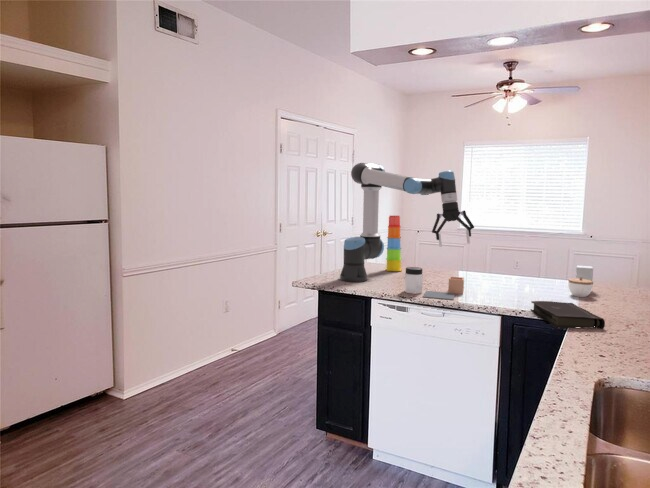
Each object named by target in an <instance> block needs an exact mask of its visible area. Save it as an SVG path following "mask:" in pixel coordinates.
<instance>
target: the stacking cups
mask: <svg viewBox="0 0 650 488" xmlns="http://www.w3.org/2000/svg"><path fill="white" fill-rule="evenodd" d="M401 228H402V227H401V216H400V215H389V216H388V226H387V237H386V238H387V247H386V249H387V251H386V258H385V260H386V268H385V271H387V272H402V259H403V258H402V257H401V253H402V252H401V251H402V247H401V239H402V238H401Z"/></svg>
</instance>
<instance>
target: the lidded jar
mask: <svg viewBox="0 0 650 488" xmlns="http://www.w3.org/2000/svg"><path fill="white" fill-rule="evenodd" d="M593 285H594V281H593V280H592V281H591V280H587V279H582V277H580V279H579V278H576V277H574V278H573V277H572V278H568V290H569V292H570V293H571V294H572V296H573V297H576V298H577V297H578V298H579V297H580V298H586V297H587V296H589V295H590V294H591V293H592V291H591V290H593Z"/></svg>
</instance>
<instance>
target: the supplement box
mask: <svg viewBox="0 0 650 488" xmlns="http://www.w3.org/2000/svg"><path fill="white" fill-rule="evenodd" d="M575 269H576V270H575V278H579V279H580V277H582V279H587V280H591V281H593V280H594V277H593V276H594V268H593V266H592V265H589V266H588V265H576V268H575ZM592 290H593V289H592ZM592 290H591V292H592Z"/></svg>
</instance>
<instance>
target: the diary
mask: <svg viewBox="0 0 650 488" xmlns="http://www.w3.org/2000/svg"><path fill="white" fill-rule="evenodd" d="M530 302H531V303H532V304H533V309H531V308H530V311H531V312H532V313H533V314H535V315H536V316H537V317H540V318H541V319H543V321H545V322H548V323H549V324H550V325H551V326H552V327H554V328H560V329H576V328H575V327H593V328H594V326H595V327H597V328H599V327H602V328H603V329H604V328H605V327H606V322H605V319H604V318H602V317H600V316H599V315H596V314H593V313H592V312H591V311H589V310H587V309H584V308H582V307H580V306H578V305H576V303H575V304H574V303H572V302H562V301H561V302H560V301H548V300H531V301H530ZM598 326H599V327H598Z"/></svg>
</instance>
